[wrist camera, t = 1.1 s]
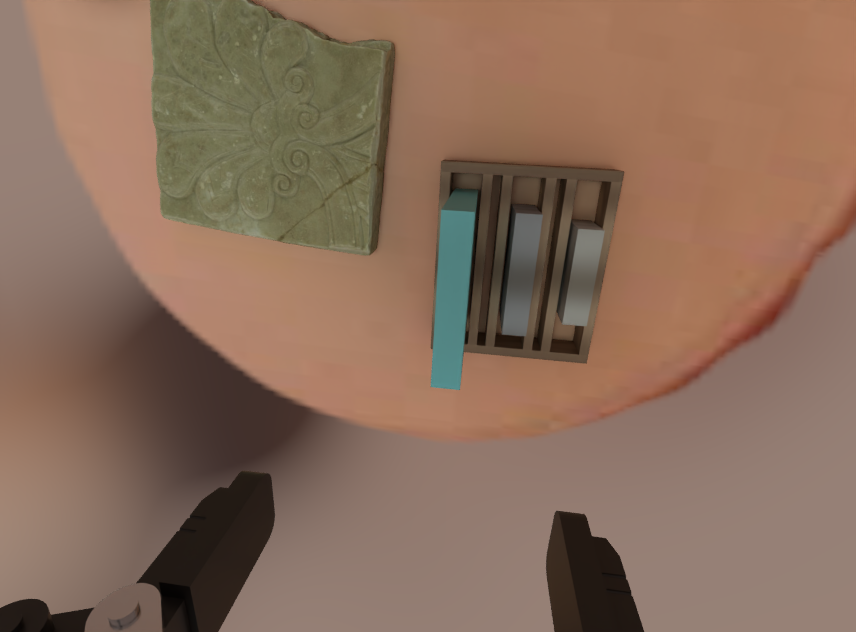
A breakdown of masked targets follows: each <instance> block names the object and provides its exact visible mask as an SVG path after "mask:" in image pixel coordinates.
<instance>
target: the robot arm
mask: <svg viewBox="0 0 856 632" xmlns="http://www.w3.org/2000/svg"><path fill="white" fill-rule="evenodd" d="M274 518H275V511H274V500H273V491H272V480H271V476H270V474H267V473H259V472H251V471H242V472H240V473H239V474H238V476H237V477H236V479H235V480H234V481H233V482H232V484H231V485H230V486H229V488H222V487H220V488H218V489H217V490H216V491H214V492H213V493H211V494H210V495H208V496H207V497H206V498H204V499H203V500H202V501H201V502H200V503H199V505H198V506H197V507H196V509H195V510H194V511H193V512H192V514H191V515H190V518H188V519H187V520H186V521H185V522H184V524H183V525H182V526H181V528H180V530H179V531H177V532H176V534H175V535H174V536H173V538H172V539H171V540H170V541H169V543H168V544H167V545H166V547H165V548H164V549H163V550H162V551H161V553H160V554H159V555H158V556H157V558H156V559H155V560H154V562H153V563H152V564H151V565H150V567H149V568H148V569H147V570H146V572H145V573H144V574H143V575H142V577H141V578H140V579H139V581H137V583H136V584H131V585H128V586H125V587H122V588H120V589H118V590H116V591H114V592H112V593H111V594H109V595H108V596H107V597H105V598H104V599H103V600H102V601H101V602H99V604H98V605H96V607H94V608H90V609H84V610H78V611H72V612H66V613H59V614H54V615H51V614H50V612H49V609H48V607H47V605H46V603H44V602H43V601H41V600H38V599H26V600H20V601H17V602H13V603H11V604H8V605H6V606H4V607H1V608H0V632H218V631H219V629H220V628H221V626H222V624H223V622H224V620H225V618H226V616H227V614H228V613H229V611H230V609H231V607H232V606H233V604H234V602H235V600H236V598H237V596H238V594H239V593H240V591H241V589H242V587H243V585H244V584H245V582H246V580H247V578H248V576H249V574H250V572H251V571H252V569H253V567H254V565H255V563H256V562H257V560H258V558H259V556H260V554H261V552H262V551H263V549H264V547H265V545H266V543H267V541H268V539H269V538H270V535H271V532H272V529H273V526H274ZM546 571H547V572H546V573H547V582H548V589H549V596H550V603H551V610H552V617H553V624H554V631H555V632H644V630H643V627H642V623H641V621H640V617H639V614H638V611H637V608H636V605H635V602H634V599H633V597H632V596H631V590H630V587H629V584H628V581H627V580H626V575H625V571H624V569H623V565H622V562H621V559H620V556H619V555H618V553H617V552H616V551H615V550H614V548H613V547H612V546H611V544H610V543H609V542H608V540H607V539H606V538H599V537H593V536H592V535H591V532H590V528H589V524H588V521H587V518H586V516H585V515H584V514H579V513H570V512H563V511H556V512H555V515H554V519H553V525H552V530H551V535H550V540H549V546H548V551H547V559H546Z"/></svg>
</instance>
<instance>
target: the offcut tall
mask: <svg viewBox="0 0 856 632" xmlns="http://www.w3.org/2000/svg"><path fill="white" fill-rule="evenodd" d="M542 218H543V214H542V213H541V212H540V211H539V210H538V209H537V207H536V206H535V205H526V204H511V212H510V220H509V229H508V238H507V247H506V256H505V264H504V273H503V282H502V291H501V300H500V309H499V312H500V322H501V331H502V334H504V335H515V336H526V333H527V326H528V319H529V312H530V304H531V297H532V290H533V283H534V276H535V268H536V261H537V254H538V247H539V240H540V233H541V225H542Z"/></svg>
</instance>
